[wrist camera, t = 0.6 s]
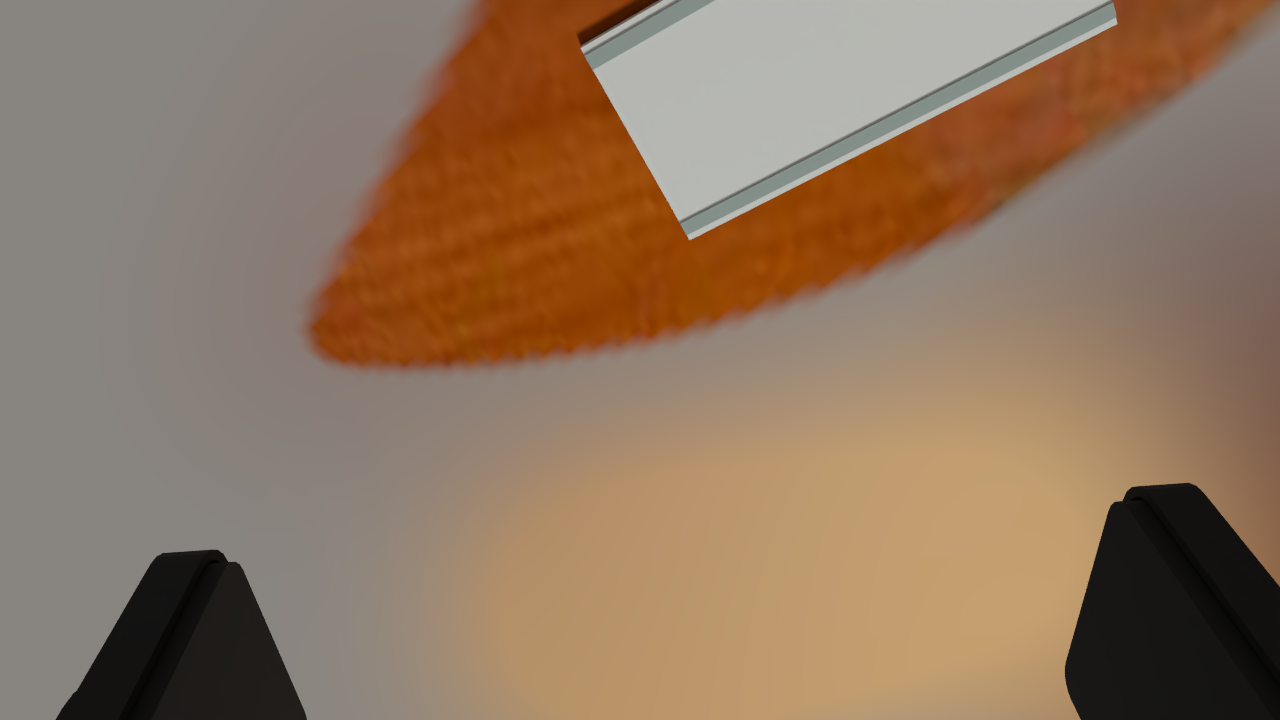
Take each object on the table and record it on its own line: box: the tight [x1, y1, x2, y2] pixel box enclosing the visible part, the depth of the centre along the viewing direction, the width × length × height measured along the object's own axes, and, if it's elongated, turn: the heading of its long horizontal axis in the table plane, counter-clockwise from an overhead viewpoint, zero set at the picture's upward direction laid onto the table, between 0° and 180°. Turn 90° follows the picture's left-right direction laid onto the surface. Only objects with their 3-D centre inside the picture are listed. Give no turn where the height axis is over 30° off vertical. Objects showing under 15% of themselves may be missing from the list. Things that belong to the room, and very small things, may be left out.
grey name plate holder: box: [581, 0, 1117, 240], centre depth 34 cm, size 18×9×1 cm, turn 119°
